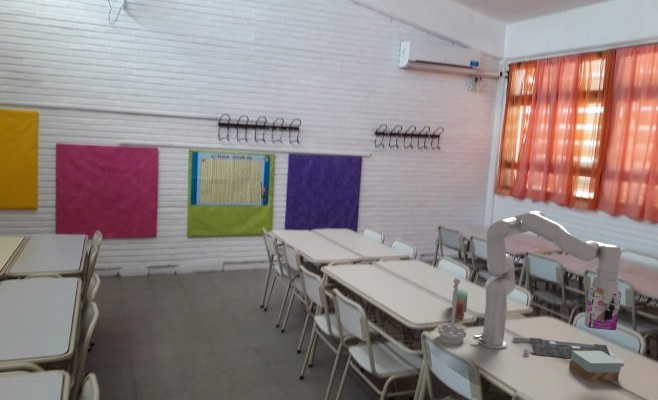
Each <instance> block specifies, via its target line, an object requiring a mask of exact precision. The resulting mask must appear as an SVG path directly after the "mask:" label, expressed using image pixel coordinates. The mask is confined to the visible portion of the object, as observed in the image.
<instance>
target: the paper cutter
mask: <svg viewBox="0 0 658 400" xmlns="http://www.w3.org/2000/svg"><path fill="white" fill-rule="evenodd" d="M512 341H513V343H525V344H531V347H532V353H533V355H539V356H547V357H548V356H549V357H550V356H551V357H559V358H568V359H571V356H572V351H602V352H604V353H606V354H607V355H609V356H611V357H612V358H614V359H616V360H617V361H619V362H620V363H621V365H622V364H624V363H625V362H624V359H623V358H621V356H619V355H616V354H615V353H613V352H612V351H611V350H610V349H609V348H608V346H607V345H606V344H600V343H599V344H597V343H587V342H586V343H585V342H584V343H583V342H575V341H566V340H557V339H555V340H554V339H547V338H546V339H544V338H540V337H526V336H517V335H513V336H512ZM522 354H523V356H525V357H529V356H530V351H529V348H528V349H527V348H524V351H523V352H522Z"/></svg>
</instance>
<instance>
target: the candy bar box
mask: <svg viewBox="0 0 658 400" xmlns="http://www.w3.org/2000/svg"><path fill="white" fill-rule="evenodd" d="M587 294H588V295H587V302H586V308H585V315H584V326H586V327H587V328H588V329H595V330H608V331H617V325H618V319H619V313H620V311H619V310H620V306H619V307H617V308H616V309H615V310H614V311H613V314H612V320H605V319H604V317H605V310H607V308H606V304H605V303H602V302H601V298H602V290H600V289H597V288H594V287H592V286H589V287H588V293H587ZM621 297H622V292H621V291H619V290H618V298H617V300H618V302H619V304H620V305H621V299H622V298H621ZM610 303H611V302H610ZM613 303H614V302H613ZM609 306H610V307H611V304H609Z"/></svg>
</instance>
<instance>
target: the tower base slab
mask: <svg viewBox="0 0 658 400" xmlns="http://www.w3.org/2000/svg"><path fill="white" fill-rule="evenodd" d="M568 365H569V366H568V369H570V370H571V371H573V372H575V374H577V375H579V376H580V377H582V378H583V379H584V380H587V381H588V382H601V381H602V382H603V381H615V380H617V381H618V380H619V378H620V377H619V375H620V372H610V373H589V372H588V371H586V370H585V369H584V368H582V367H581V366H579V365H578V364H576V363H575V362H574V361H572V360H571V359H569V364H568Z"/></svg>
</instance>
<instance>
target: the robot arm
mask: <svg viewBox="0 0 658 400" xmlns="http://www.w3.org/2000/svg"><path fill="white" fill-rule="evenodd" d="M527 232H531V233H532V234H535V235H536V236H538V237H541V238H542V239H544V240H546V241H548V242H550V243H552V244H553V245H554V246H556V247H557V248H558V249H560V250H562V251H563V252H564V253H566V254H568V255H570V256H572V257H574V258H576V259H578V260H581V261H583V262H591V261H592V260H595V259H598V260H597V261H598V262H597V268H596V274H595V275H594V277H593V280H592V284H591V287H594V288H597V289H600V290H602V298H601V302H602V303H605V304H606V308H607V310H605V317H604V319H605V320H612V314H613V311H614V310H615V309H616V308H617V307H619V308H620V306H621V303H620V304H619V302H618V300H617V298H618V291H619V280H618V276H619V269H620V267H619V266H620V261H621V254H622V249H621V247H620V246H618V245H616V244H609V243H602V242H598V241H595V240H586V241H584V240H582V239H579V238H577V237H575V236H574V235H572V234H571V233H569V232H568V231H567V229H566V228H565V227H564V226H563V225H562V224H560V223H558V222H556V221H554V220H551V219H549V218H548V217H546V215H545V214H544V212H541V211H539V210H532V211H528V212H525V213H522V214H519V215H515V216H511V217H506V218H502V219H499V220H496V221H495V222H493V223H492V224H491V225H490V226H489V227H488V229H487V231H486V238H485V239H486V266H487V267H486V268H487V270H488V272H489V273H490V275H491V276H492V275H493V276H494V278H493V279H491V280H489V281H488V283H487V284H486V286H485V308H484V309H485V310H484V320H483V327H482V328H483V331H482V332H480V334H479V335H478V334H477V335H476V334H473V336H472V338H473V340H474V341H476V340H478V342H479V344H480V345H482V346H484V347H485V348H486V347H487V348H488V349H489V348H490V349H495V350H496V349H497V350H502V349H504V348H505V349H506V348H507V345H508V344H507V342H506V341H505V339H504V338H505V330H506V322H507V314H508V313H507V311H508V301H507V298H508V296H509V295H511V294H512V293H513V292H514V291H515V287H516V275H515V261H514V259H513V257H512V256H511V255H510V254H509V253H507V245H506V238H510V237H512V236H515V235H519V234H524V233H527ZM610 302H611V303H610ZM613 302H614V303H613ZM609 304H611V307H610V306H609Z"/></svg>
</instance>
